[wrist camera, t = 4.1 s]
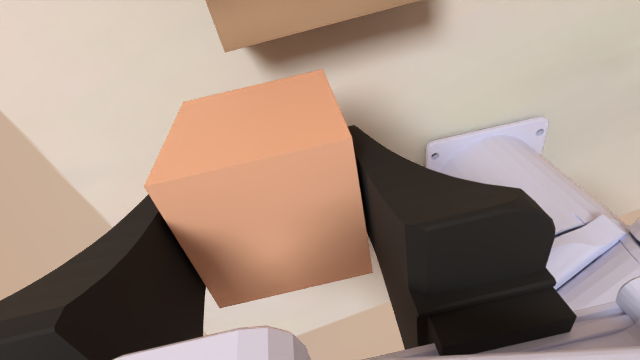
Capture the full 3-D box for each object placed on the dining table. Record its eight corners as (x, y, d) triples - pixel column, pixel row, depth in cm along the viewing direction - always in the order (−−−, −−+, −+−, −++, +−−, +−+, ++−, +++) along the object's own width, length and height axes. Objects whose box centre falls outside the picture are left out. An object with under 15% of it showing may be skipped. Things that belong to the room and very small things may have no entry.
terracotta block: (343, 181, 15) (372, 272, 11) (231, 207, 15) (219, 308, 11) (322, 69, 12) (352, 138, 8) (183, 101, 12) (143, 186, 8)
